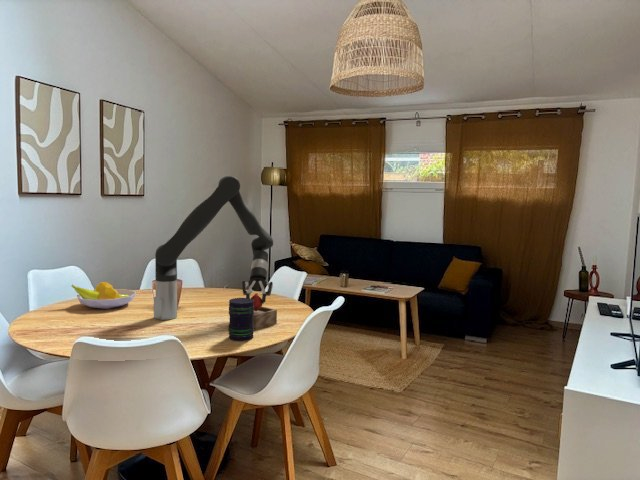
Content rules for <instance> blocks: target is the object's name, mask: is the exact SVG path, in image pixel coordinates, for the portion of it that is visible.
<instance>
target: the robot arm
mask: <svg viewBox="0 0 640 480" xmlns="http://www.w3.org/2000/svg"><path fill="white" fill-rule="evenodd" d="M240 189H241V182H240V180H239V179H238V178H237V177H235V176H233V175H231V176H230V175H226V176H224V177H221V178H220V179H219V181H218V186H217V187H216V188H215V190H213V192H212V193H211V195H210V196H208V198H206V199H205V200H203V201H202V202H201V203H200V204H198V205H197V206H196V207H195V208H194V209H193V210H192V211H191V212H190V213H189V214H188V216H187V217H186V218H185V219H184V220H183V222H182V223H181V224H180V226H179V227H178V229H177V231H176V232H175V233H174V234H173V236H172V237H171V238H170V239H168V240H167V242H165V243H164V244H161V245H160V246H158V247H157V248H156V250H155V254H154V255H155V258H154V259H155V260H154V262H155V263H154V264H155V269H154V270H155V271H154V272H155V273H154V274H155V277H154V278H155V296H154V297H153V318H154V319H157V320H160V321H163V320H164V321H165V320H166V321H167V320H173V319H176V318H178V262H177V261H178V258H179V256H181V254H182V252H184V251H185V249H186V247H187V246H188V245H189V244H190V243H192V242H193V241H194V240H195V239H196V238H197V237H198V236H199V235H200V234H201V233H202V232H203V231H204V230H205V229H206V228H207V227H208V226H209V224H210V223H211V222H213V219H214V218H216V216H217V215H218V213H219V212H220V211H221V210H222V208H223V207H224V206H225V205H226V204H227V203H229V204H230V205H231V206H232V208H233V210H234V212H235V213H236V215H237V217H238V219H239V221H240V222H241V224H242V225H243V228H244V229H245V231H246V232H247V234H248V235H249V236H257V237H255V238H254V239H253V240H252V241H251V250H252V255H253V256H252V262H251V268H250V273H249V274H250V275H249V279H248V281H244V280H242V282H241V286H242V294H243V296H245V298H250V299H251V294H252V293H253V292H256V291H258V292H261V293H262V295H261V299H262V305H264V303H266V300H267V299H266V298H267V296H271V295H272V291H273V287H274V284H273V281H270V282H269V281H268V280H267V279H268V277H267V276H268V272H269V271H268V266H269V265H268V263H269V254H268V252H267V250H269V249H272V247H273V246H274V240H273V237H272V235H270V234H269V233H268V231H266V230H265V228H264V227H263V226H261V224H260V222H259V220H258V218H257V217H256V215H255V213H254V212H253V210H251V209H250V207H249V205H248V204H247V203H246V201H245V200H244V197H243V196H242V194H241V192H240ZM267 281H268V282H267ZM248 286H249V287H248ZM266 286H267V291H266V290H265V288H266ZM247 287H248V289H247Z"/></svg>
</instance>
